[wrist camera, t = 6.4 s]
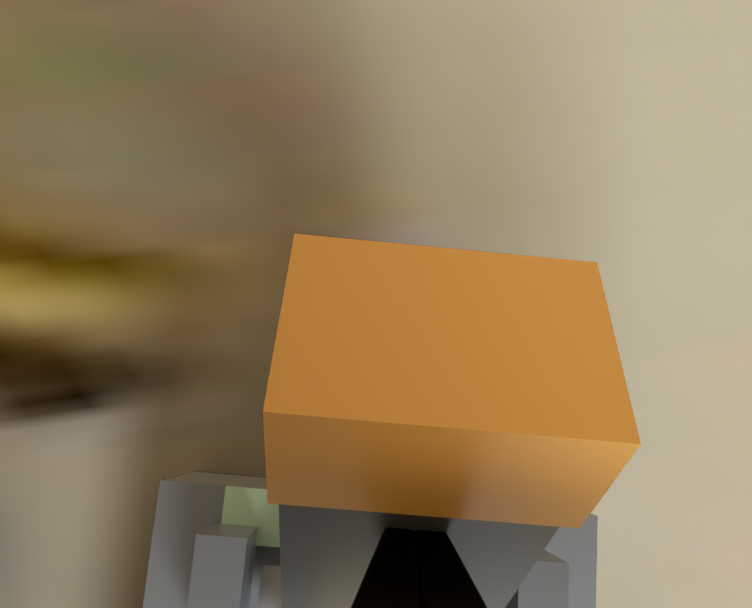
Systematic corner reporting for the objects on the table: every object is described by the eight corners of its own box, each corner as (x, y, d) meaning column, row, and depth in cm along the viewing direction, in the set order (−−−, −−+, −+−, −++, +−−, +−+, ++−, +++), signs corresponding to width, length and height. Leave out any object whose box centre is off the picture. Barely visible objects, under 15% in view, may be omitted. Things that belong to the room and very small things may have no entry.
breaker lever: (488, 689, 14) (690, 447, 7) (252, 672, 14) (211, 406, 7) (481, 562, 16) (635, 265, 9) (270, 545, 16) (254, 230, 9)
